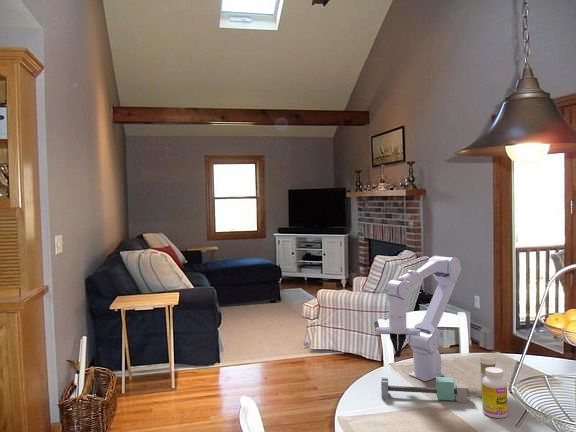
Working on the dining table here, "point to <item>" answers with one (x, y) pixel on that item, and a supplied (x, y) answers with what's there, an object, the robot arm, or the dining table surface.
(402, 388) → the shaft
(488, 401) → the supplement bottle
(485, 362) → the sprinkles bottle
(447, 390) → the sleeve
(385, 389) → the grey notched jaw block
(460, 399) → the grey cube
